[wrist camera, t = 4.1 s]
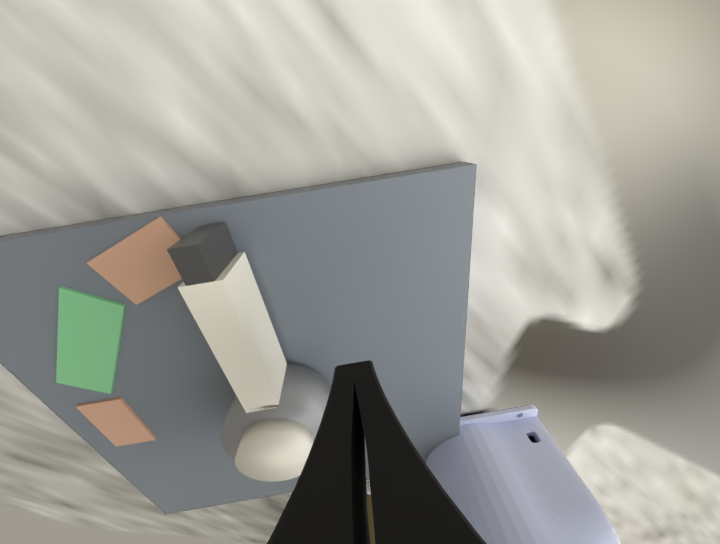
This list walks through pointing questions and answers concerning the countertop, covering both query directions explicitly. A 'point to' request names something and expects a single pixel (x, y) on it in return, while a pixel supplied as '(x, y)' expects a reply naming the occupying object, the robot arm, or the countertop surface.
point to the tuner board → (282, 301)
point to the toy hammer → (249, 359)
